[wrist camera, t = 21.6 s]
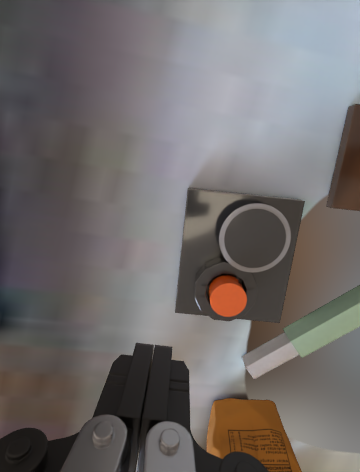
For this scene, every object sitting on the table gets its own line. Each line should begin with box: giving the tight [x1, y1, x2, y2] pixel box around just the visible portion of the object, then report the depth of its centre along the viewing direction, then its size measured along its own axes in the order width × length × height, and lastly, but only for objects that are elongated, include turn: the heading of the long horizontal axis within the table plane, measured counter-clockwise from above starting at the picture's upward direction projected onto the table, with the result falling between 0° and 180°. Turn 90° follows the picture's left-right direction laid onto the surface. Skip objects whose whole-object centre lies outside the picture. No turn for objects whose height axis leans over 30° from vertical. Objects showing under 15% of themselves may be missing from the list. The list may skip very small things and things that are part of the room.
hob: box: [175, 188, 305, 323], centre depth 30 cm, size 14×12×4 cm
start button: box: [208, 275, 247, 317], centre depth 29 cm, size 4×4×2 cm
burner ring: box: [219, 203, 291, 272], centre depth 28 cm, size 7×7×1 cm
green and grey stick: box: [242, 285, 360, 379], centre depth 32 cm, size 22×3×3 cm
